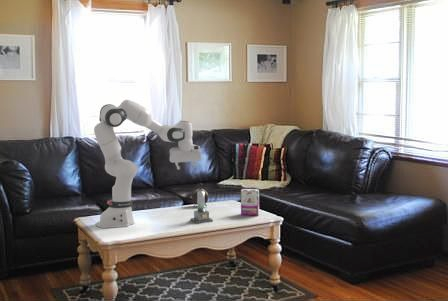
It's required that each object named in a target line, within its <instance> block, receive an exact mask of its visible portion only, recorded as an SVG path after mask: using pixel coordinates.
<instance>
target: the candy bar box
mask: <svg viewBox="0 0 448 301" xmlns="http://www.w3.org/2000/svg"><path fill="white" fill-rule="evenodd" d="M240 215H241V216H249V217H251V216H253V217H254V216H255V217H257V216H259V215H260V190H259V188H258V189H256V188H255V189H254V188H242V189H241V190H240Z"/></svg>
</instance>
